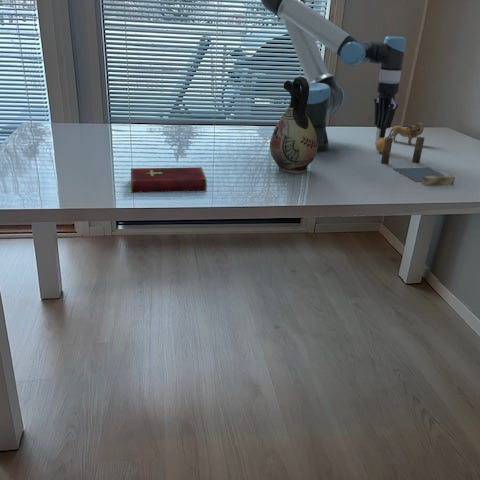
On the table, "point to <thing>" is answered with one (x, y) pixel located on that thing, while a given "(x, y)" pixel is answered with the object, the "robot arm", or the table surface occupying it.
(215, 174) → the table surface
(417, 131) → the lion figurine
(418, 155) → the right post
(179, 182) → the hardcover book
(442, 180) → the rail
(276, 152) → the ceramic jug
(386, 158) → the left post
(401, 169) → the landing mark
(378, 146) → the ball
